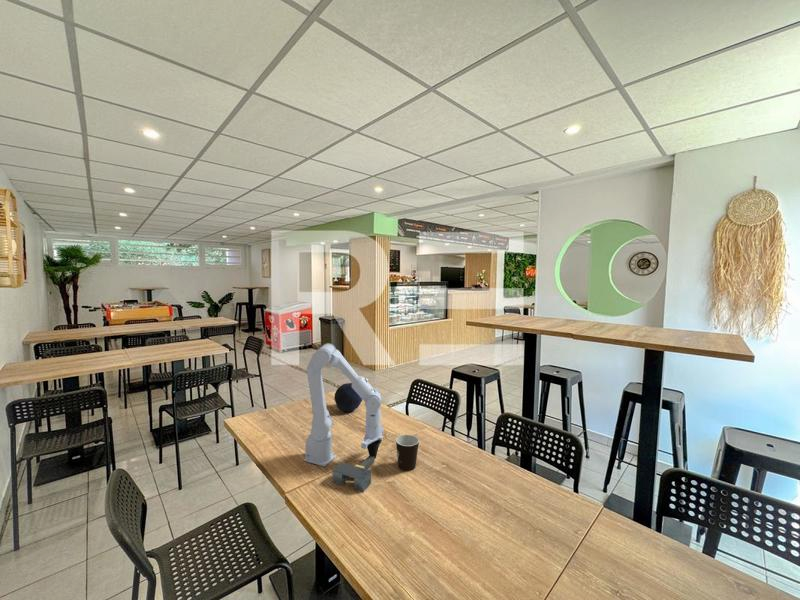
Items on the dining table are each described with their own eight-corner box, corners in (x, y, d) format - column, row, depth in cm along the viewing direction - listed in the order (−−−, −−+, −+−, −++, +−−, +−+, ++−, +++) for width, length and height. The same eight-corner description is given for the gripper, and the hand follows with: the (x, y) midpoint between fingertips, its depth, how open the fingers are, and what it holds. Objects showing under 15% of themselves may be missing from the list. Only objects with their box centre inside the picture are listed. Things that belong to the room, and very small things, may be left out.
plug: (368, 460, 123) (368, 452, 123) (375, 462, 122) (375, 454, 122) (351, 477, 113) (351, 468, 113) (359, 479, 112) (359, 471, 111)
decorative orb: (351, 391, 183) (340, 374, 174) (371, 397, 174) (360, 380, 166) (336, 413, 174) (323, 396, 166) (357, 420, 165) (344, 403, 157)
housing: (332, 482, 110) (332, 469, 110) (341, 474, 114) (341, 462, 114) (363, 492, 105) (363, 478, 105) (371, 483, 110) (371, 470, 109)
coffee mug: (416, 474, 115) (417, 447, 114) (393, 471, 117) (393, 444, 116) (421, 457, 126) (421, 432, 126) (399, 454, 128) (399, 429, 128)
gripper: (373, 433, 114) (373, 470, 115) (390, 418, 128) (390, 451, 129) (356, 430, 117) (356, 466, 118) (374, 414, 130) (374, 447, 131)
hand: (372, 458), depth 123 cm, fingers closed
